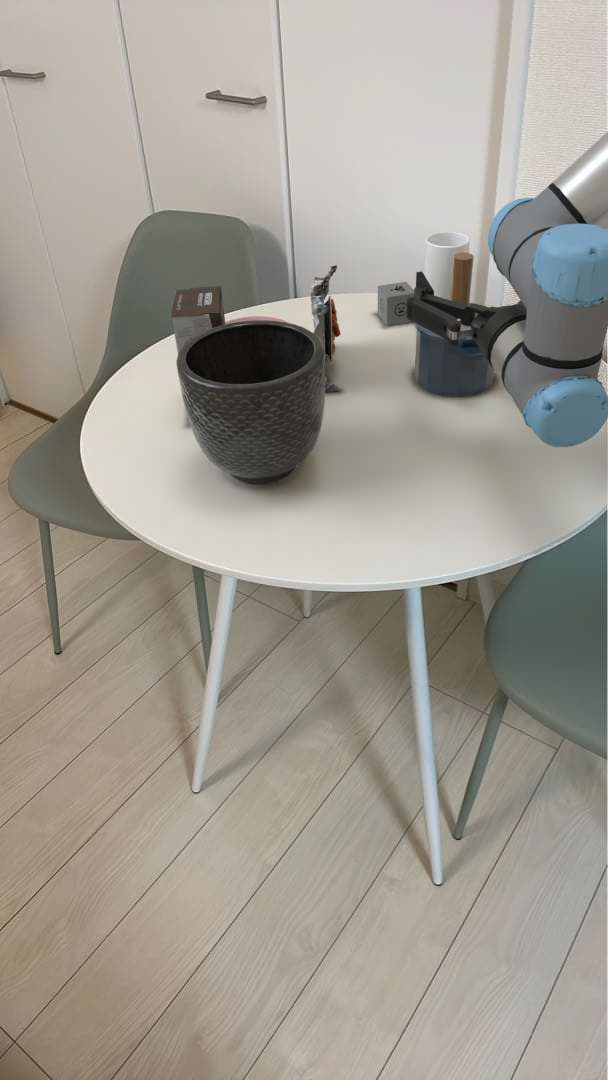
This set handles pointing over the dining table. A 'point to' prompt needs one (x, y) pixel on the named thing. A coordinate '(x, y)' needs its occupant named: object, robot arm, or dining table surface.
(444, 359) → the pot
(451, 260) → the drinking glass
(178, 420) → the dining table surface
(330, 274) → the meal
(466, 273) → the lid
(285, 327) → the planter
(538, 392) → the robot arm
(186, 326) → the coffee box
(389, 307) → the dice cube
